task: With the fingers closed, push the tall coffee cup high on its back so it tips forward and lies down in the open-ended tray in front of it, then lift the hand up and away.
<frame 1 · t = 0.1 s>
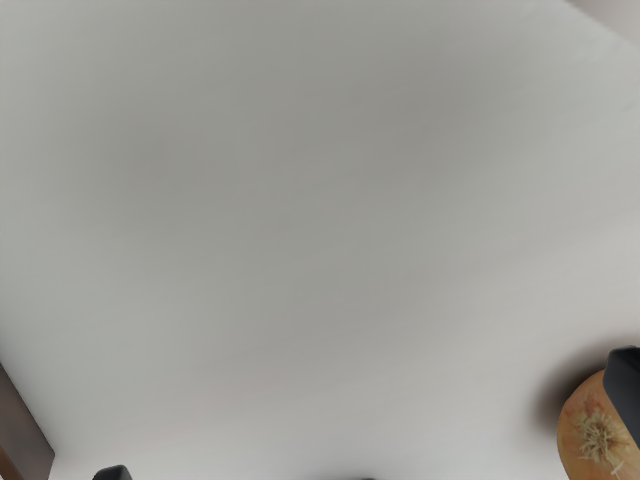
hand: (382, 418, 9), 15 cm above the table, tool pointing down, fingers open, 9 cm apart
onion: (591, 386, 35), on the table
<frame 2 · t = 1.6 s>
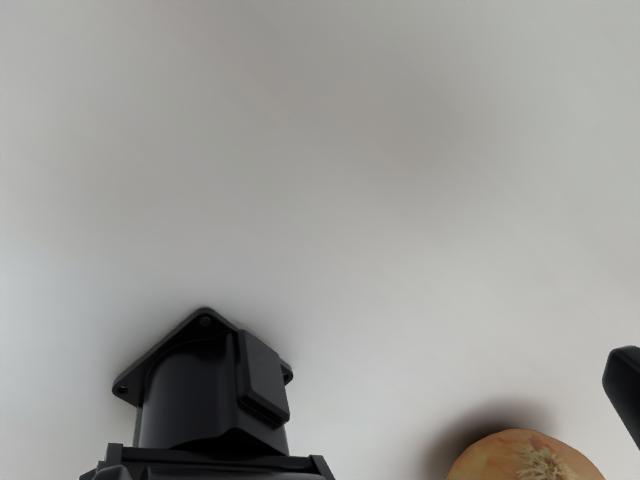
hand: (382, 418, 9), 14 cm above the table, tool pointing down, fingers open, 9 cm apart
onion: (488, 444, 34), on the table
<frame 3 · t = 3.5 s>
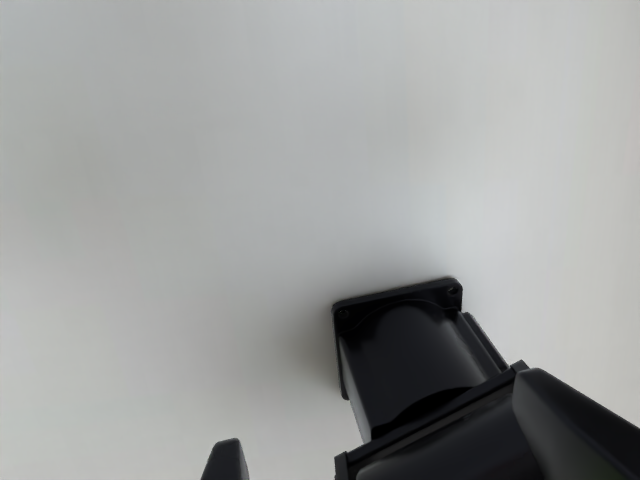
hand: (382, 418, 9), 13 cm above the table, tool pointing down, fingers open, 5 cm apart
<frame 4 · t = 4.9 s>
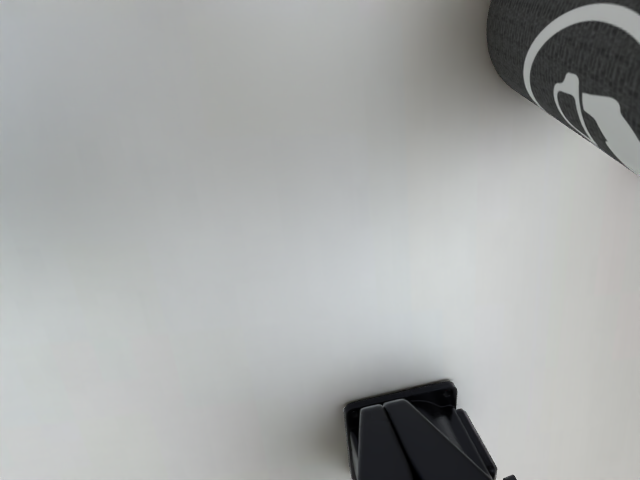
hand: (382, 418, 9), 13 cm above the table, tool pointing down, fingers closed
coffee cup: (561, 12, 20), on the table
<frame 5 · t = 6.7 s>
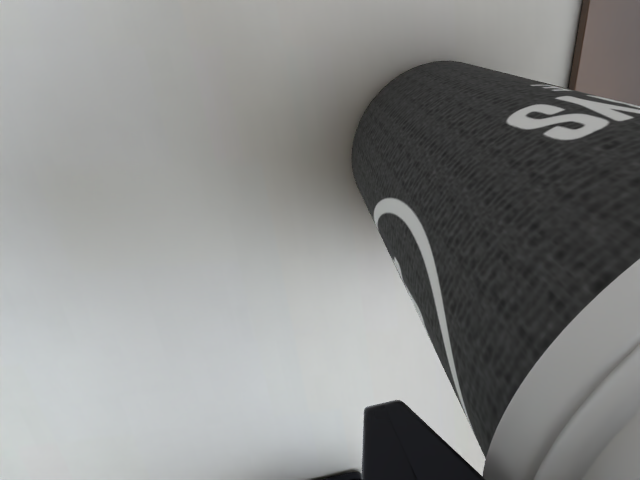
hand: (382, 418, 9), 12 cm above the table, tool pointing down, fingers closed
coffee cup: (430, 146, 20), on the table, touching gripper
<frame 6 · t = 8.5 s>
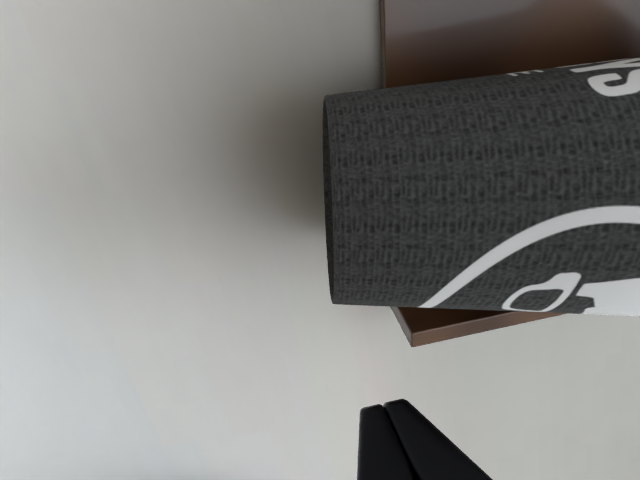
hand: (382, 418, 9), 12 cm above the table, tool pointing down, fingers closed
coffee cup: (321, 201, 16), point 3 cm above the table, touching open-ended tray
open-ended tray: (594, 118, 20), on the table
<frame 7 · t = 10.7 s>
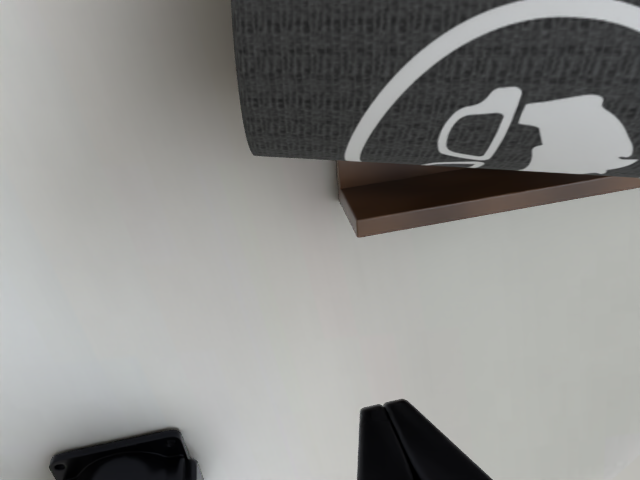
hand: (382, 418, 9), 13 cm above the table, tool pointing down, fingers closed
coffee cup: (240, 39, 14), point 3 cm above the table, touching open-ended tray
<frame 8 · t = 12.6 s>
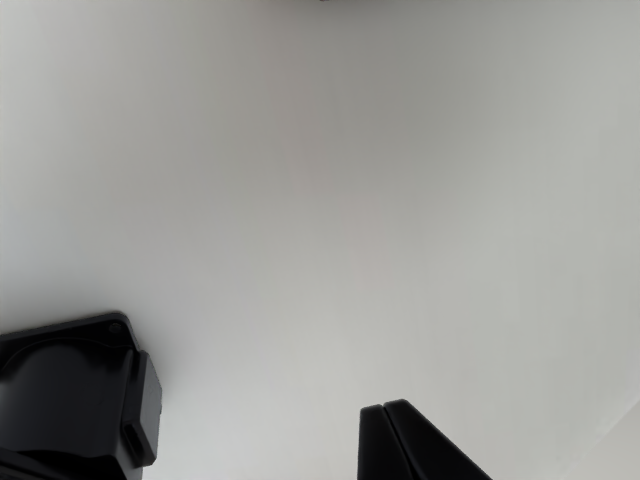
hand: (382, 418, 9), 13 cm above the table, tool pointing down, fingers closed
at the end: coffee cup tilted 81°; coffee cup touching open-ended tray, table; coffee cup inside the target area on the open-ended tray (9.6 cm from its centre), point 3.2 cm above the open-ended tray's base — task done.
